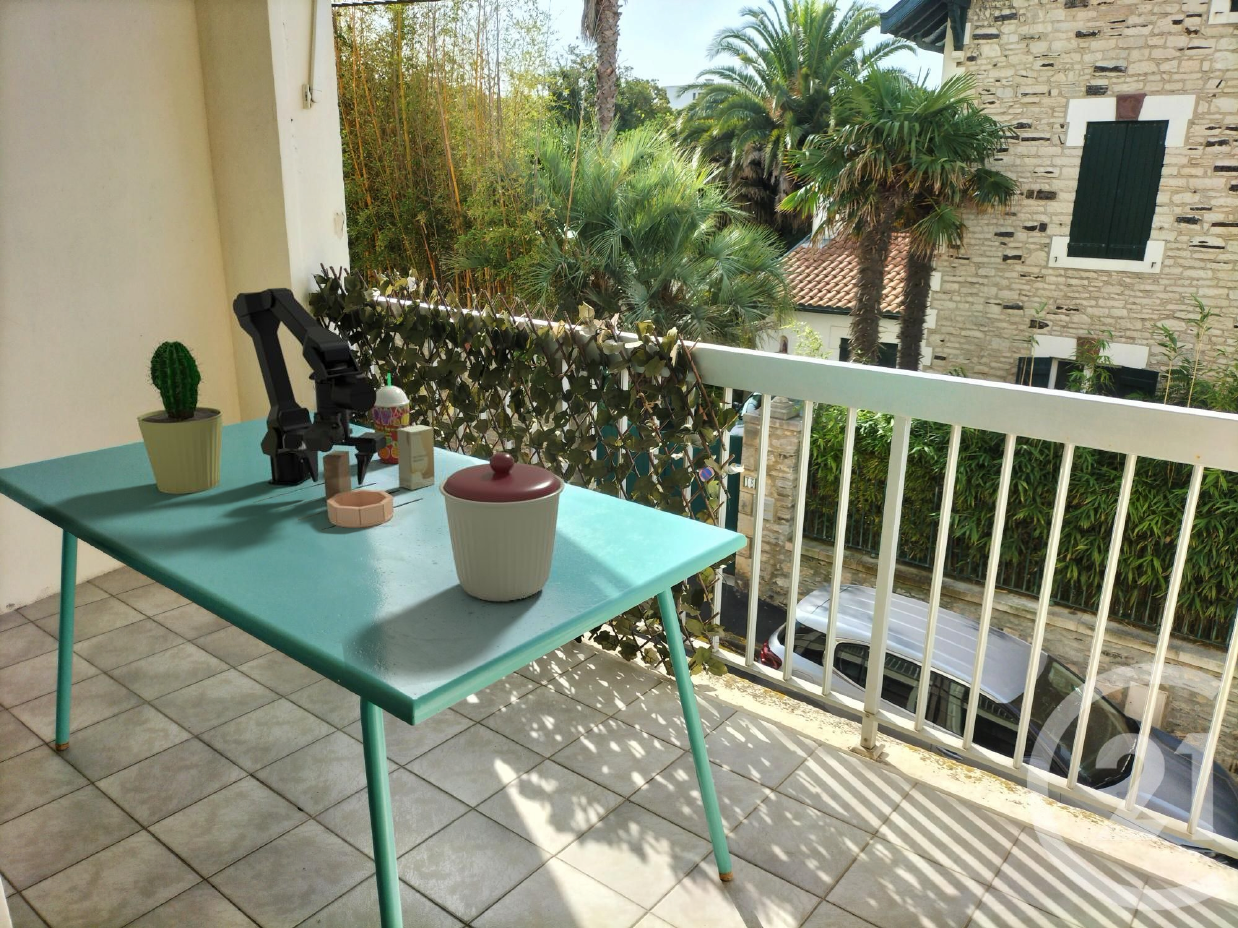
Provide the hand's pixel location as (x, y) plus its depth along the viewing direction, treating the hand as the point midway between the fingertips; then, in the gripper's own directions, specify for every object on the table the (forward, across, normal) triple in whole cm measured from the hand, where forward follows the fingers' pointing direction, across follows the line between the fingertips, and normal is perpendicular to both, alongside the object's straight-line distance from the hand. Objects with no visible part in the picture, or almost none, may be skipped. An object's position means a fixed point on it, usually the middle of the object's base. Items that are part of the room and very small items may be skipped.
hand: (337, 483), depth 168 cm
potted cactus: (+3, -33, +2) cm, 33 cm away
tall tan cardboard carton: (+3, 0, 0) cm, 3 cm away
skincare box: (+3, +12, +11) cm, 17 cm away
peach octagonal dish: (+3, +9, -10) cm, 14 cm away
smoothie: (+3, 0, +28) cm, 28 cm away
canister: (+3, +43, -36) cm, 56 cm away
